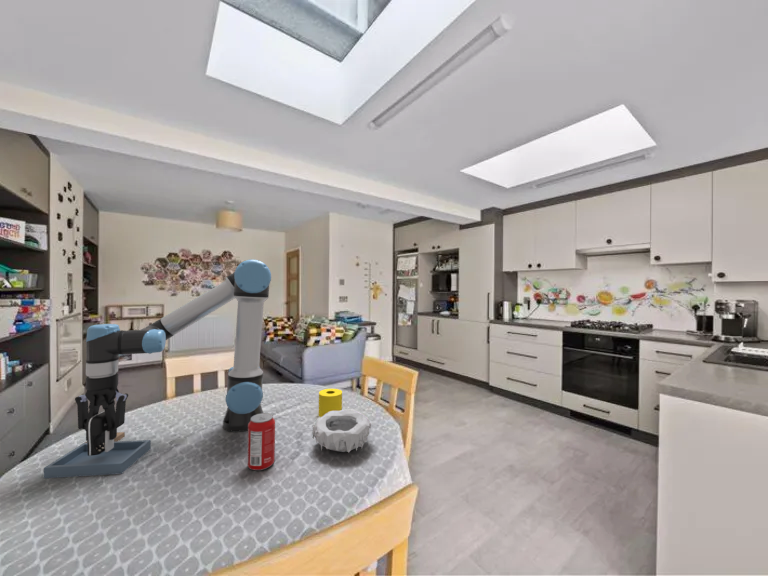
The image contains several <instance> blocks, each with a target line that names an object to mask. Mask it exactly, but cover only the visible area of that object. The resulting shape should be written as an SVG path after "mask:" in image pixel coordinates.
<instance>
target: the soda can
mask: <svg viewBox="0 0 768 576" xmlns="http://www.w3.org/2000/svg"><path fill="white" fill-rule="evenodd" d="M275 453H276V420H275V418H274V414H272V413H270V412H269V413H267V412H263V413H261V414H257V415H254V416H252V417H251V420H250V422H249V423H248V430H247V467H248V468H249V469H250V470H252V471H262V470H263V471H264V470H266V469H268V468H270V467H271V466H272V465H274V463H275V459H276V458H275V457H276V455H275Z"/></svg>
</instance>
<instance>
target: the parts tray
mask: <svg viewBox="0 0 768 576" xmlns="http://www.w3.org/2000/svg"><path fill="white" fill-rule="evenodd" d="M151 442H152V441H151V439H144V440H143V439H140V440H121V441H120V440H119V441H116V442H114V448H112V449H111V450H110V451H108V452H105V451H104V452H102V453H101V454H98V455H92V456H88V447H87V443H85V442H84V443H83V442H82V444H80V445H78V446H77V447H75V448H74V449H72V450H70V451H69V452H67V453H65V454H63V456H61V457H59V458H57V459H55V460H54V461H52V462H50V463H49V464H47V465H46V466H45V467H43V479H53V478H54V479H55V478H56V479H57V478H69V477H70V478H71V477H72V478H73V477H89V476H103V475H104V476H106V475H118V474H119V475H120V474H121V475H122V474H123V473H124V472H126V470H128V469H129V468H130V467H131V466H132V465H134V464H135V463H136V462H137V461H138V460H139V459H140V458H142V457H143V456H144V455H145V454H146V453H148V452H149V451H150V450H151V446H152V445H151Z"/></svg>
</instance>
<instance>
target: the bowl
mask: <svg viewBox="0 0 768 576" xmlns="http://www.w3.org/2000/svg"><path fill="white" fill-rule="evenodd" d="M371 428H372V423H371V422H370V419H369V417H368V416H366V414H364V413H362V412H360V411H358V410H356V409H354V408H350V409H349V408H345V409H344V408H342V410H340V411H329V412H328V413H326V414H325V415H324V416H322V417H320V416H318V417H317V418H316V420H315V423H314V424H313V425H312V432H311V433H312V437H311V439H313V440H314V438H315V441H316V443H318V444H319V445H320V449H321V451H323V450H322V449H323V447H325V449H326V450H331V451H335V452H341V453H342V452H343V453H345V452H348V453H347V454H349V453H350V452H351V451H352V450H355V451H356V452H357V450H358V448H359V447H361V450H362V449H363V448H364V445H365V444H366V442H368V437H369V435H370V429H371Z"/></svg>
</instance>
